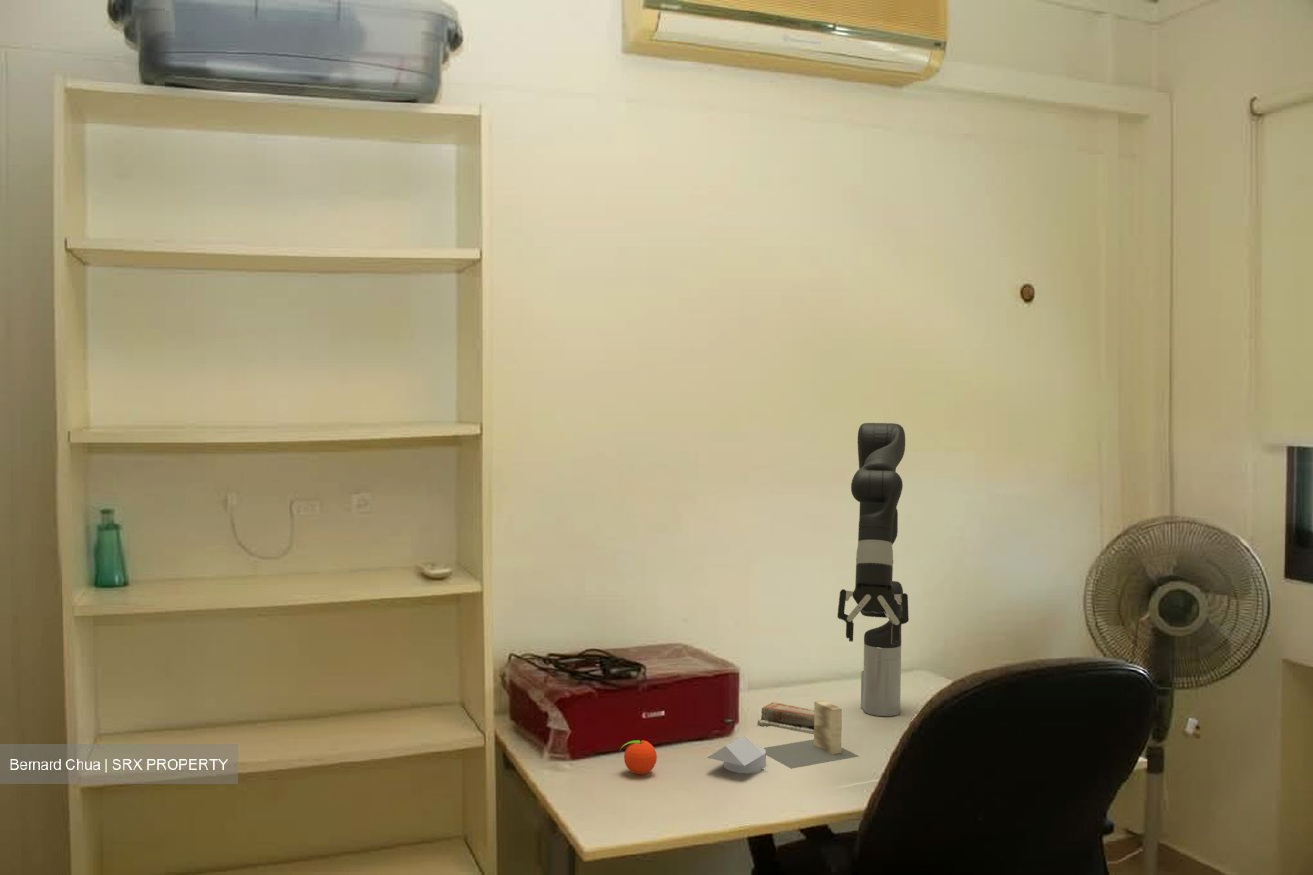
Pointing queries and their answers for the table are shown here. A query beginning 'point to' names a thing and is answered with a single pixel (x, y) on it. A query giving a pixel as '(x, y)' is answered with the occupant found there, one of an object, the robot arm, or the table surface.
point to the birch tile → (827, 727)
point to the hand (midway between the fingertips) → (871, 642)
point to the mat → (804, 754)
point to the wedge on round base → (742, 756)
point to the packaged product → (787, 717)
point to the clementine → (640, 756)
